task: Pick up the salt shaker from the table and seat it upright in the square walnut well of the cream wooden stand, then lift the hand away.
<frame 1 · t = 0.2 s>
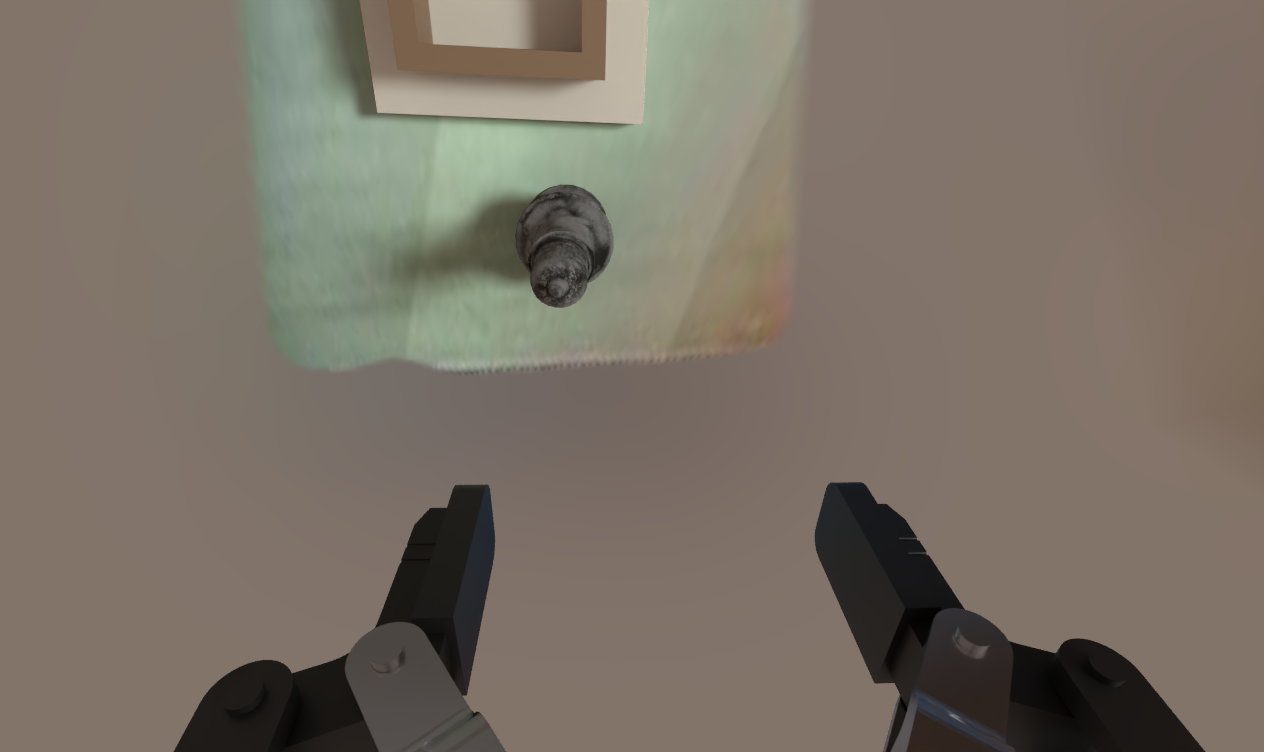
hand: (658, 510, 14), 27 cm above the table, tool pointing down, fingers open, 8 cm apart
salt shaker: (567, 225, 38), on the table
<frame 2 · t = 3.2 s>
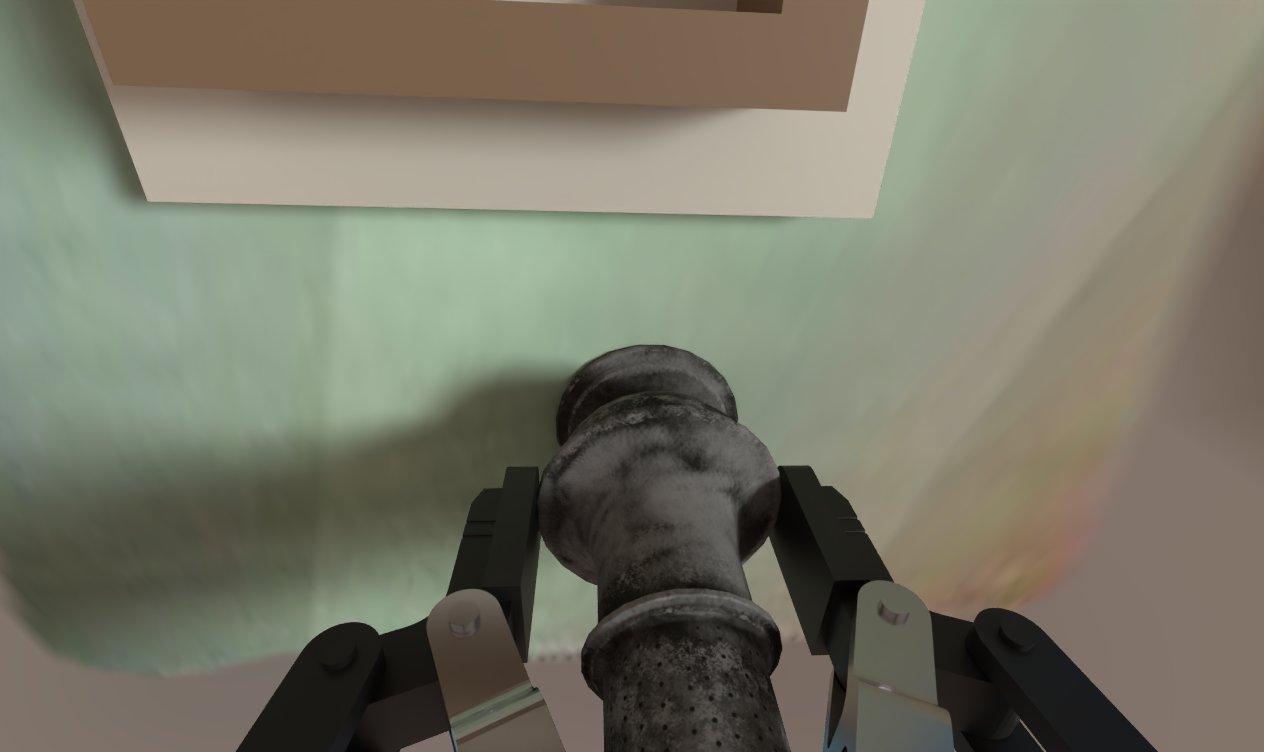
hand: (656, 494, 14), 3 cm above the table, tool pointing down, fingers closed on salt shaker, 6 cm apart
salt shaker: (646, 421, 17), on the table, touching gripper
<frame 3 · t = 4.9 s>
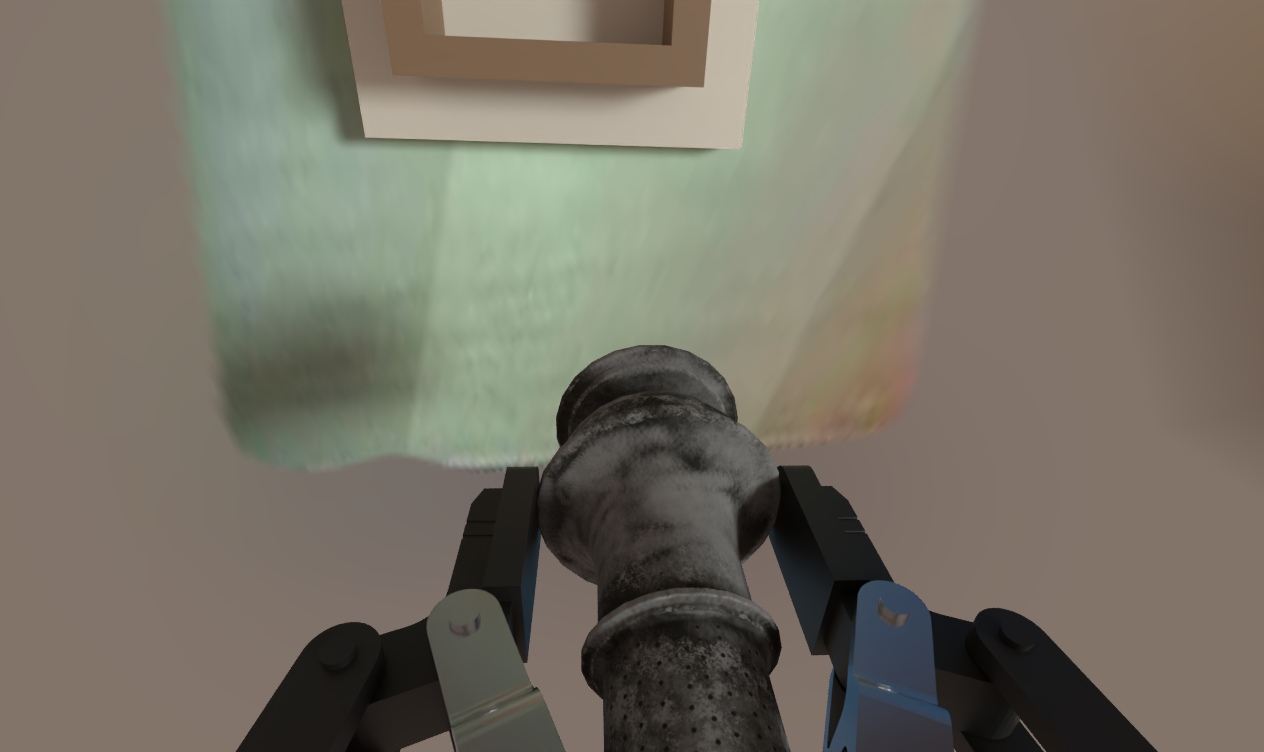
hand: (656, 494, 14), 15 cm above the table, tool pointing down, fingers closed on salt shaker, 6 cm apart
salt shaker: (646, 421, 17), point 12 cm above the table, touching gripper
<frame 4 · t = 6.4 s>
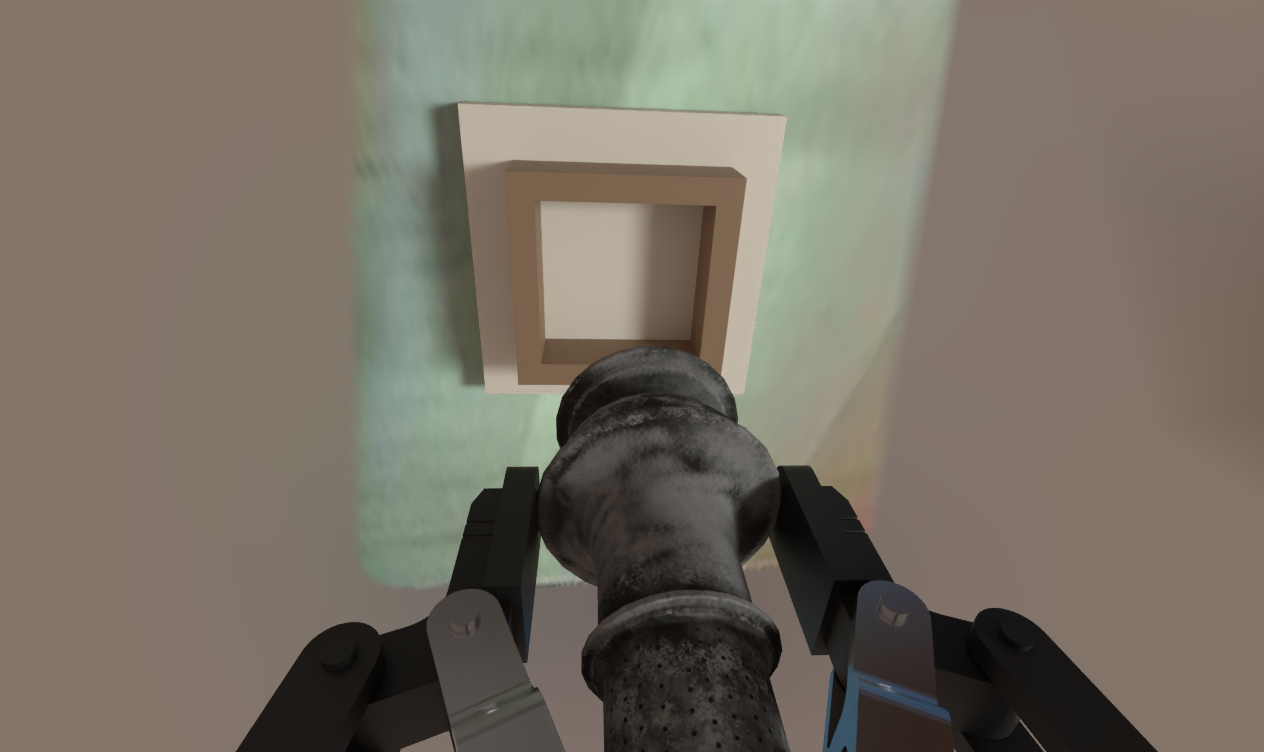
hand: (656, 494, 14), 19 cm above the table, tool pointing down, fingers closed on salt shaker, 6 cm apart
shaker stand: (619, 260, 31), on the table
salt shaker: (646, 422, 17), point 16 cm above the table, touching gripper
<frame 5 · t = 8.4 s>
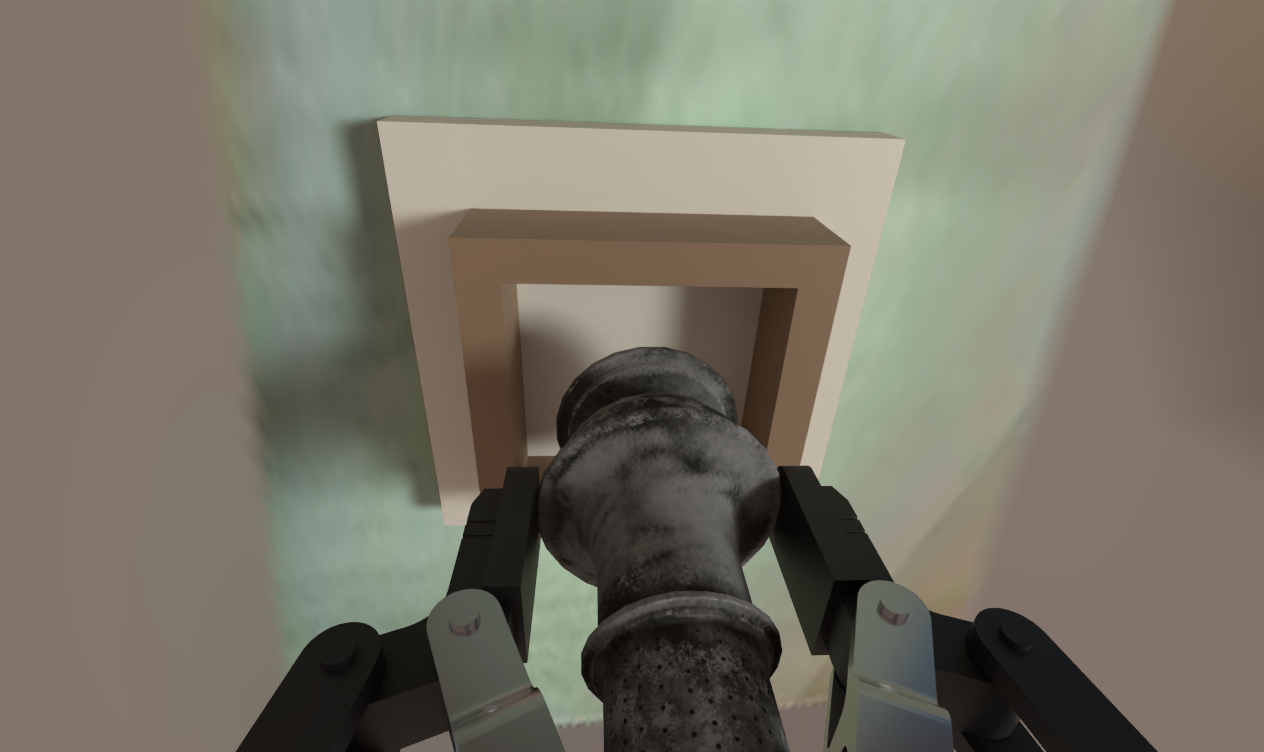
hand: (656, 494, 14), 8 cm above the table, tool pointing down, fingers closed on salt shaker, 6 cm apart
shaker stand: (635, 344, 21), on the table
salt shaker: (646, 423, 17), point 5 cm above the table, touching gripper
when the fingers open (6 cm above the table, at t = 9.9 s): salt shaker drops 1 cm, resting on shaker stand.
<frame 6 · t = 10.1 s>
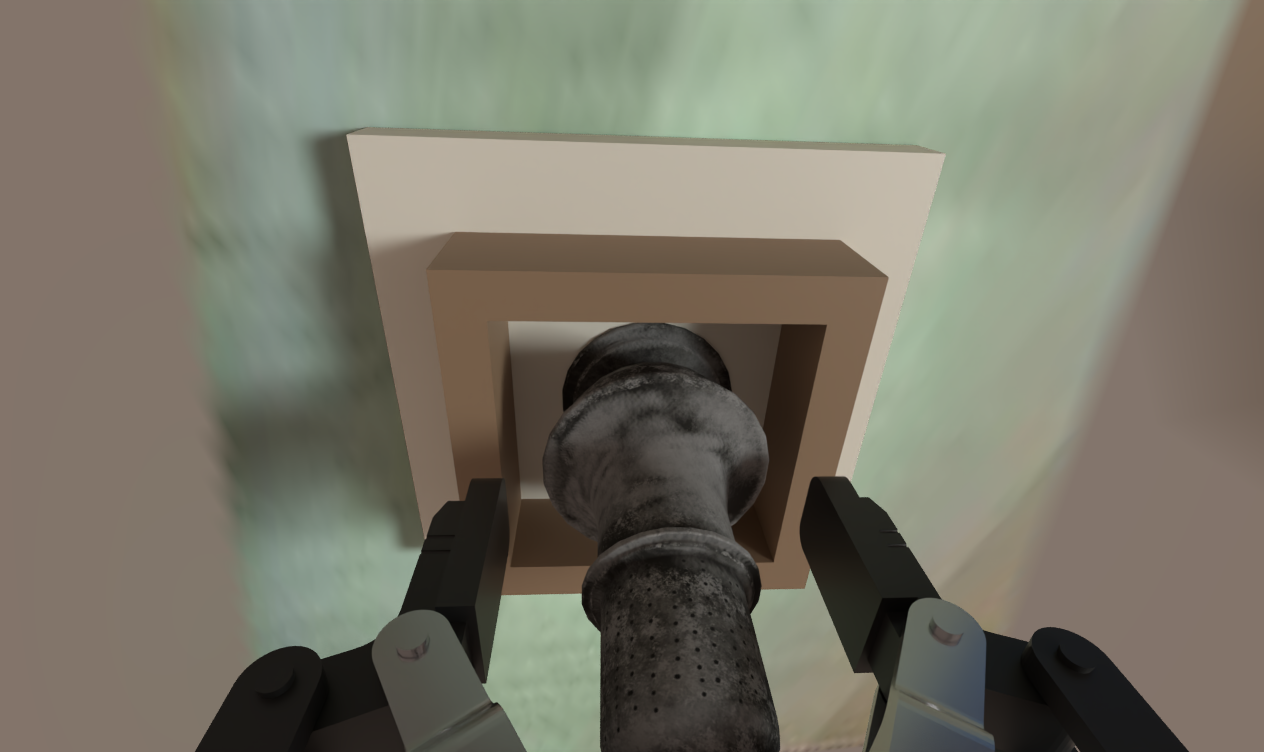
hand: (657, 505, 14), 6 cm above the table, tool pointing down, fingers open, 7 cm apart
shaker stand: (639, 376, 19), on the table
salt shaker: (646, 395, 18), point 1 cm above the table, touching shaker stand
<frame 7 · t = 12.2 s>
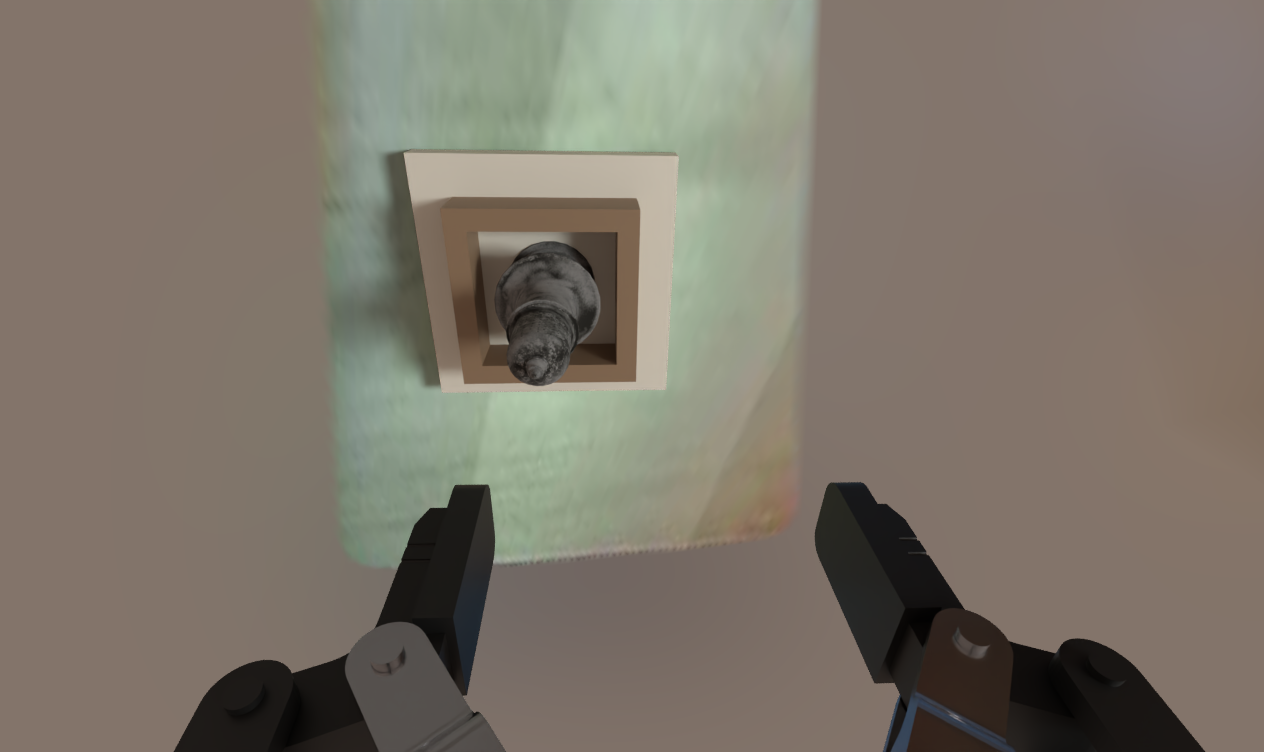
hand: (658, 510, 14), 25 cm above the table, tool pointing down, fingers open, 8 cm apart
shaker stand: (551, 276, 36), on the table
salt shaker: (552, 282, 35), point 1 cm above the table, touching shaker stand
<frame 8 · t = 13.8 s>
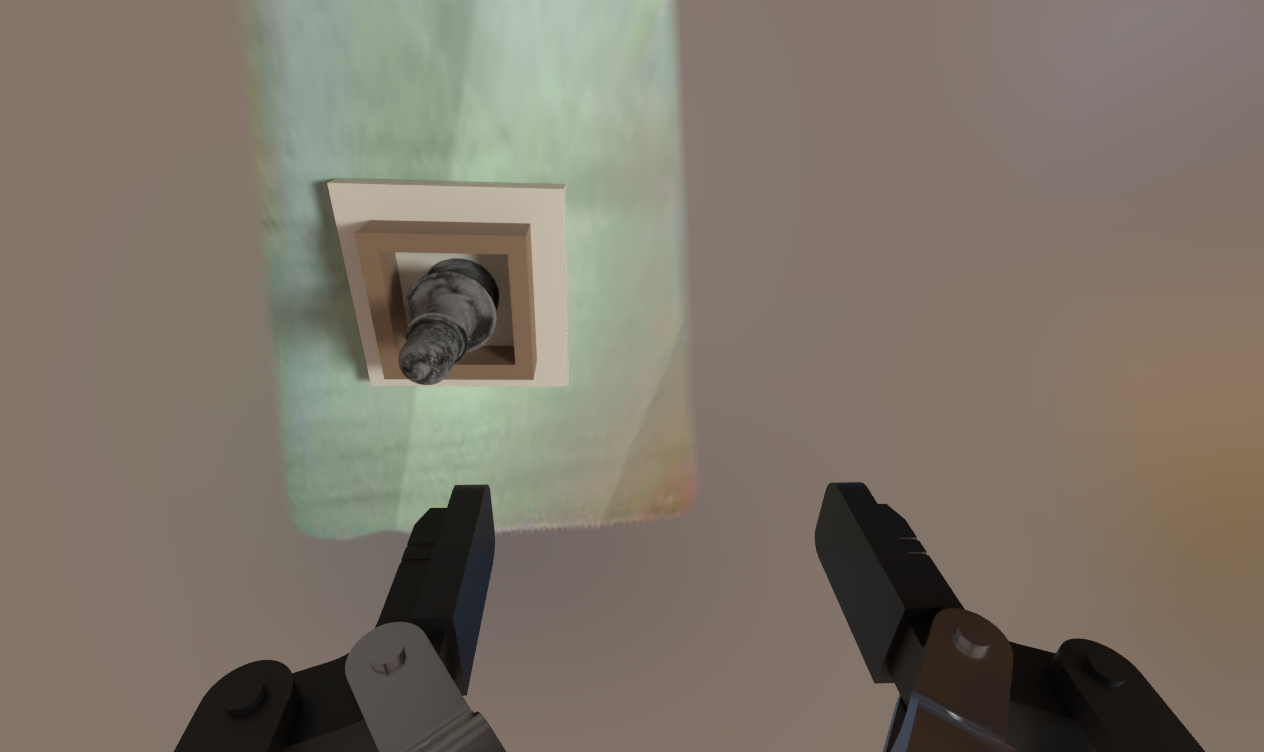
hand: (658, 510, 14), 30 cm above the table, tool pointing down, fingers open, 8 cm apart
shaker stand: (464, 287, 42), on the table
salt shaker: (462, 293, 41), point 1 cm above the table, touching shaker stand
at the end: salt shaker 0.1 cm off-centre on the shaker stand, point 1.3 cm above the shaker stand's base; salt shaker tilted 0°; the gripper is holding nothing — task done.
